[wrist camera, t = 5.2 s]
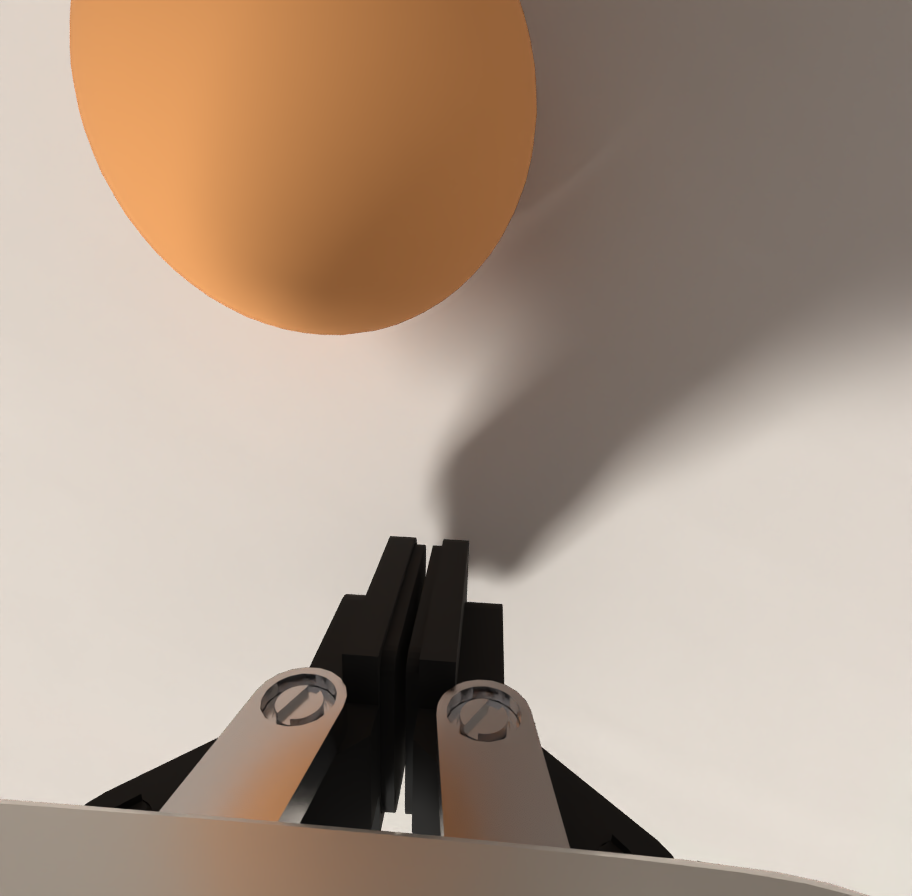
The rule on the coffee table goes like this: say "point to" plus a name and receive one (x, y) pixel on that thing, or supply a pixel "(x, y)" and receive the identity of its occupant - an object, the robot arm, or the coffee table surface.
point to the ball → (311, 145)
